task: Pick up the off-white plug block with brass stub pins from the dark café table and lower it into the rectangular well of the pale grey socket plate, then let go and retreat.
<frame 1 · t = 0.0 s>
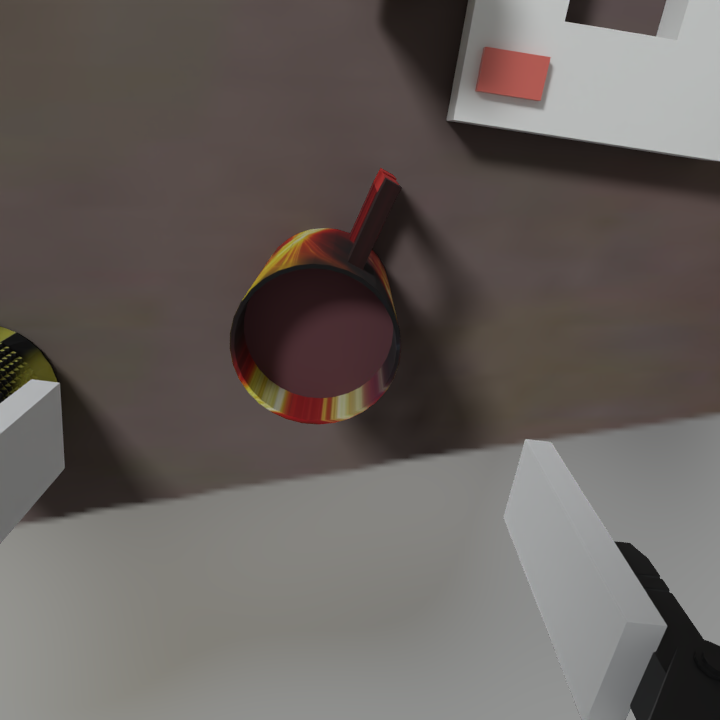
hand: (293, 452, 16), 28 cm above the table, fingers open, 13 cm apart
mug: (325, 264, 43), on the table
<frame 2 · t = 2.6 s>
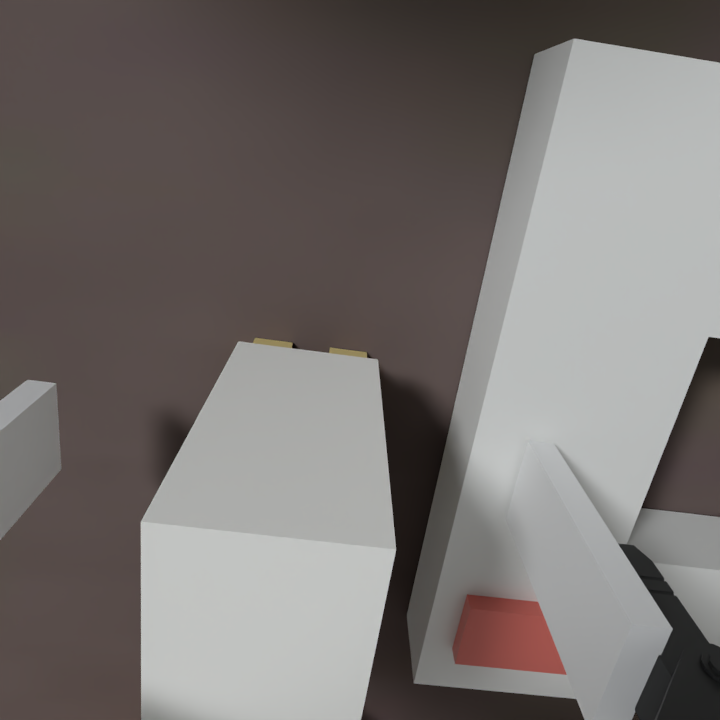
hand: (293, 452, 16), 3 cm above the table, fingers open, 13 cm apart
socket: (715, 422, 20), on the table
plug: (305, 397, 19), on the table
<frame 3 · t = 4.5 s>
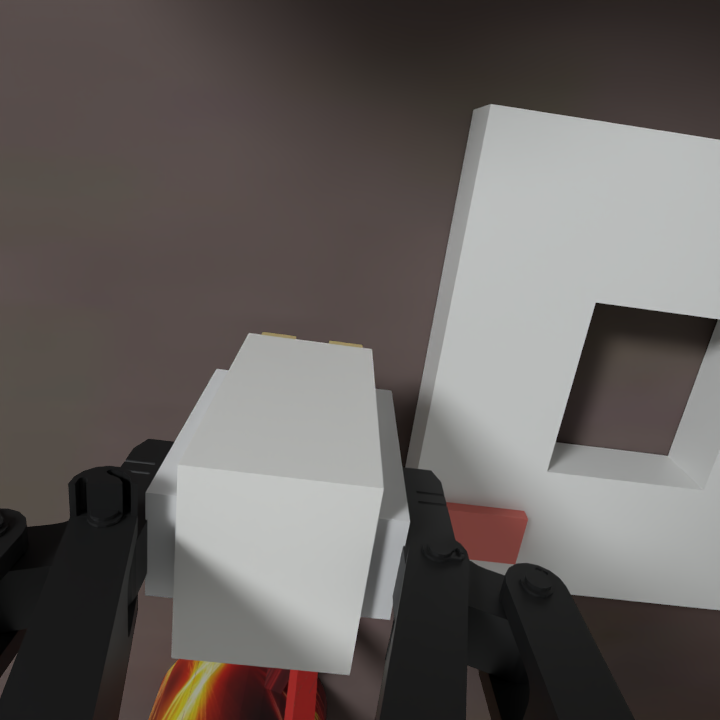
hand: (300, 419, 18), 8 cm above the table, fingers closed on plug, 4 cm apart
socket: (620, 375, 26), on the table
plug: (307, 386, 21), point 5 cm above the table, touching gripper
mug: (241, 674, 33), on the table
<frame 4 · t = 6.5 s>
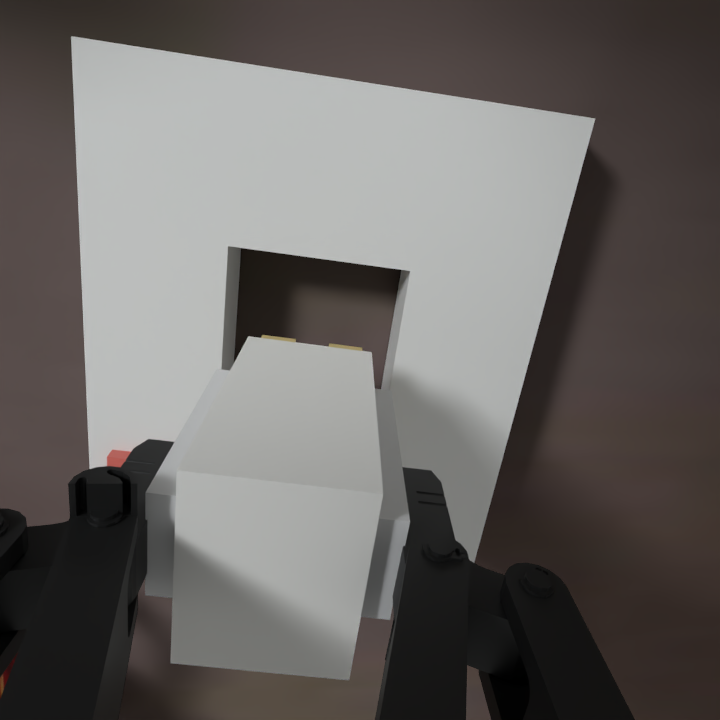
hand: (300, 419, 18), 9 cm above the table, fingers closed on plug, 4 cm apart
socket: (314, 325, 26), on the table
plug: (306, 389, 21), point 5 cm above the table, touching gripper
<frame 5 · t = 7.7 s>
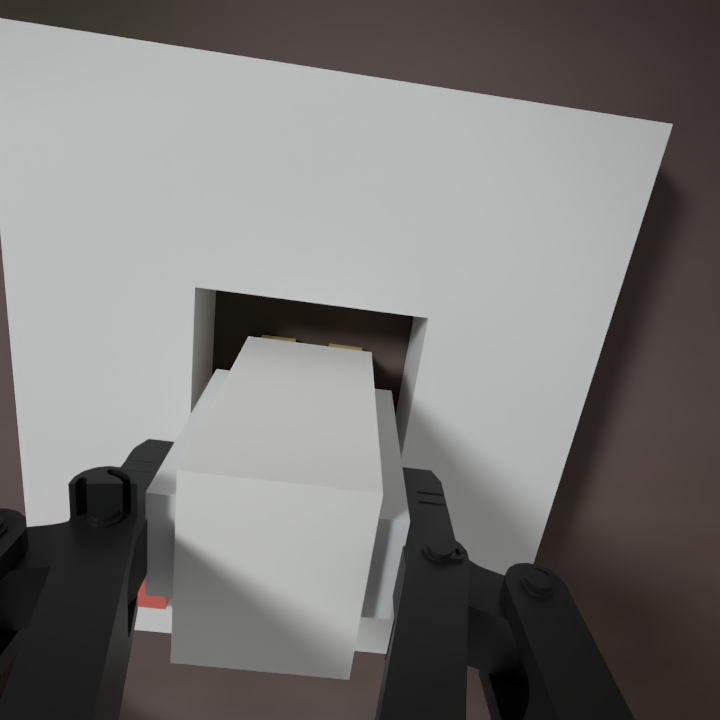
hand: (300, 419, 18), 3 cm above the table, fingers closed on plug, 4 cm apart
socket: (307, 376, 21), on the table
plug: (306, 389, 21), resting in socket, touching gripper
when the fingers open (3 cm above the table, at t = 8.3 s): plug stays where it is, resting in socket.
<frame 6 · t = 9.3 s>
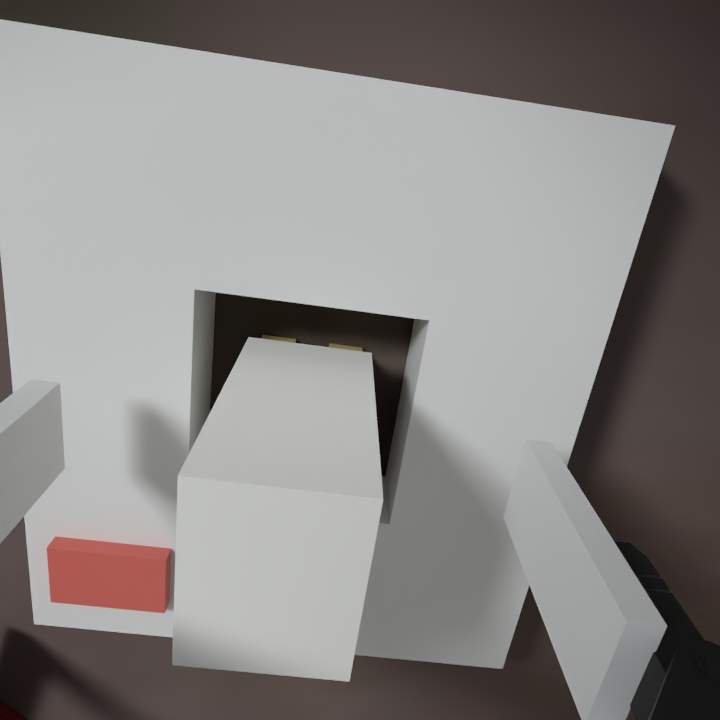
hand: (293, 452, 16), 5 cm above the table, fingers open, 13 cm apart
socket: (307, 379, 21), on the table
plug: (307, 388, 21), resting in socket
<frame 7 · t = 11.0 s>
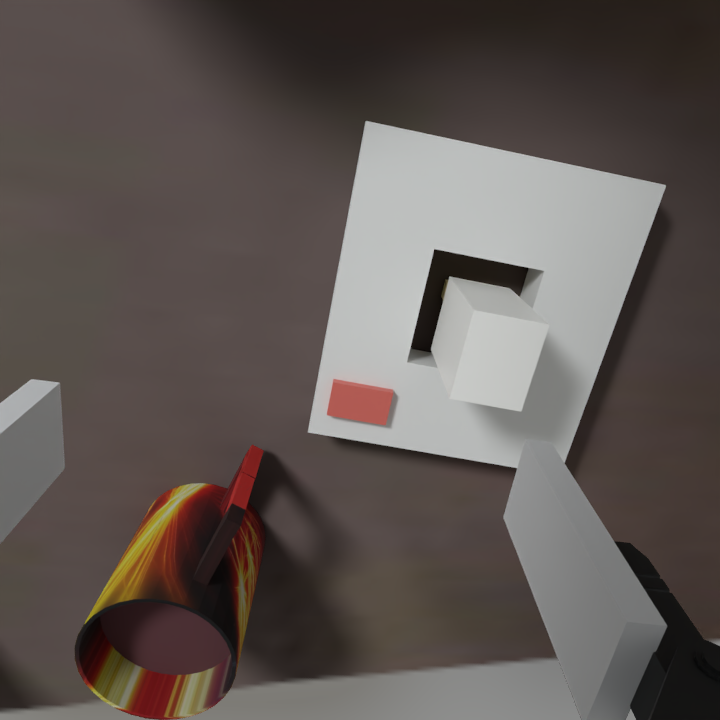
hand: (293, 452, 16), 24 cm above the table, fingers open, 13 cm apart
socket: (465, 305, 39), on the table
plug: (464, 311, 39), resting in socket
mug: (204, 511, 45), on the table
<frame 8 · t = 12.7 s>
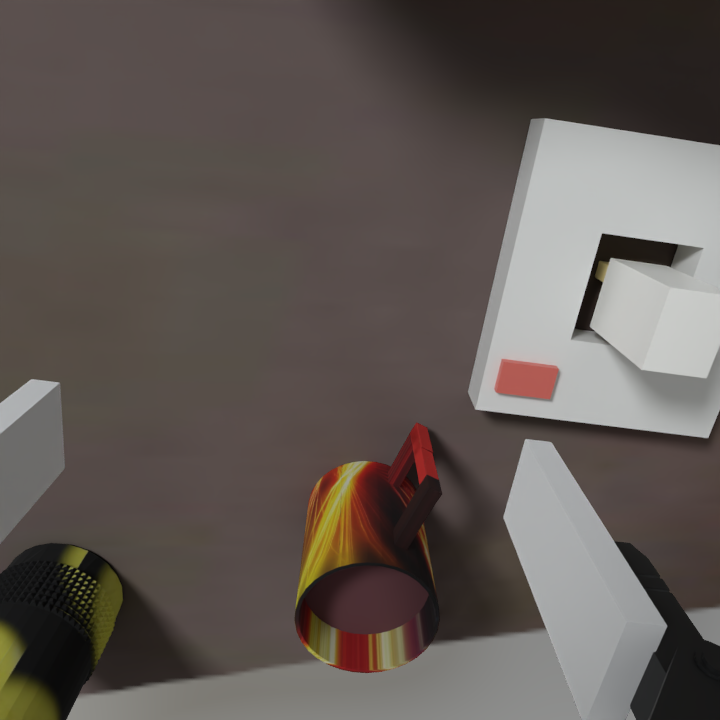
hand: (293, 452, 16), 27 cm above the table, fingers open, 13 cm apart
socket: (616, 284, 42), on the table
plug: (615, 289, 42), resting in socket
container: (67, 585, 52), on the table
mug: (364, 487, 49), on the table
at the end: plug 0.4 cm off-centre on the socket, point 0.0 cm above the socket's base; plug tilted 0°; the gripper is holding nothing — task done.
